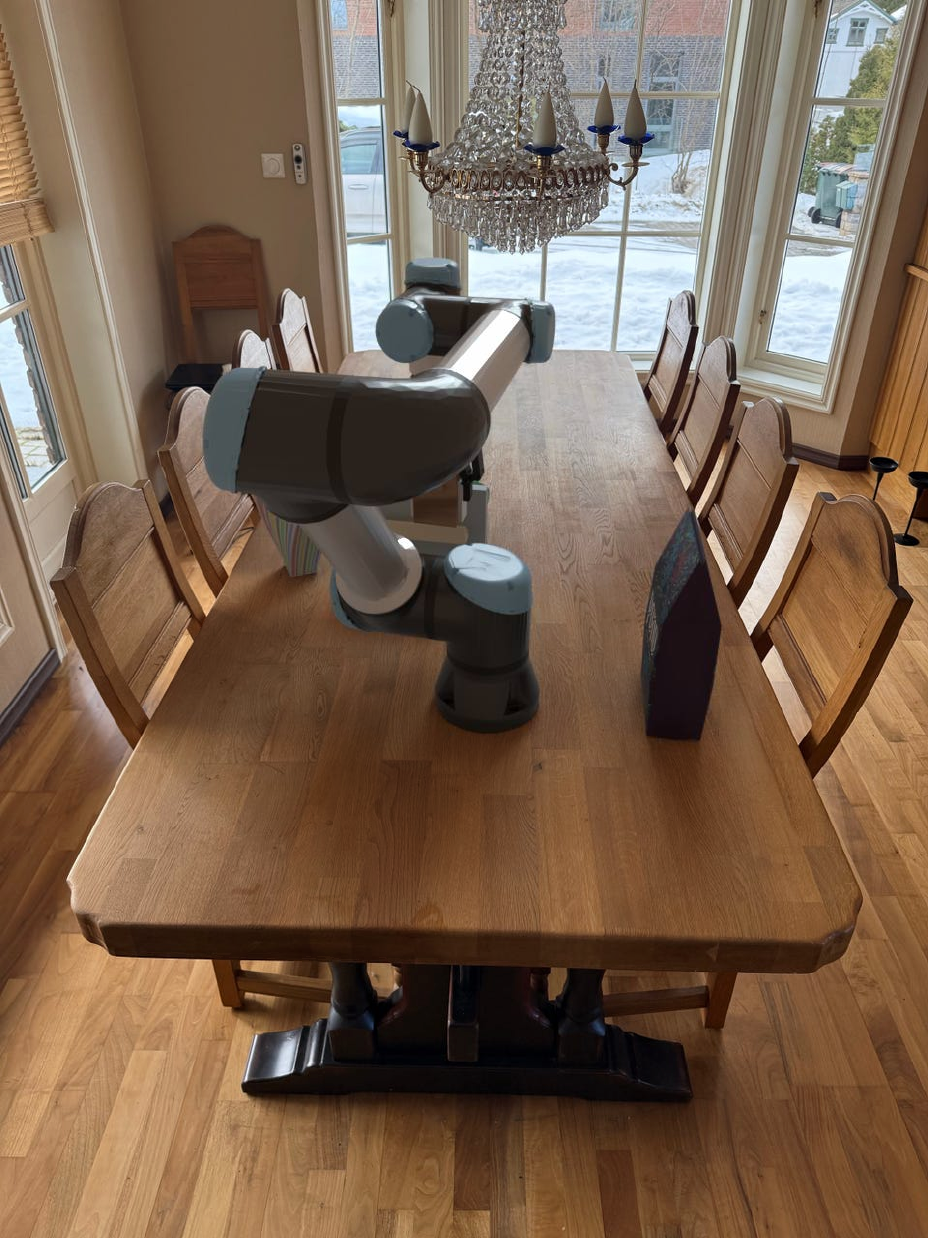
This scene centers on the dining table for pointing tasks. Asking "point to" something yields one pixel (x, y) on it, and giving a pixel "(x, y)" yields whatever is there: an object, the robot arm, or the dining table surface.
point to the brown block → (438, 505)
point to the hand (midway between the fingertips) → (438, 515)
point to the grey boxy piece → (441, 537)
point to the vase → (291, 543)
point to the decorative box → (680, 638)
